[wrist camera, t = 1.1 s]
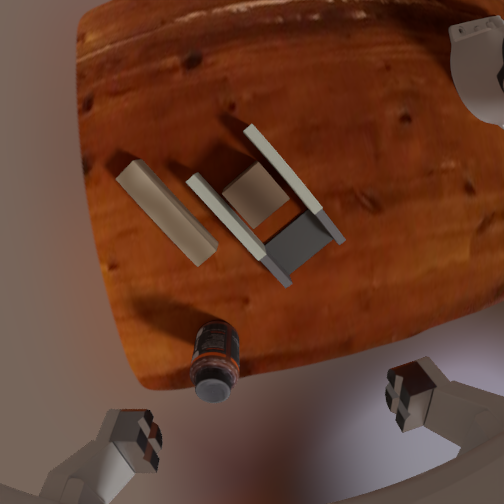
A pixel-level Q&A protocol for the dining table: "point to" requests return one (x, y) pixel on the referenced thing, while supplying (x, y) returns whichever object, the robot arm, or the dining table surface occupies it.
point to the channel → (289, 239)
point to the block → (255, 194)
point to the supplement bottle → (215, 361)
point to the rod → (167, 211)
